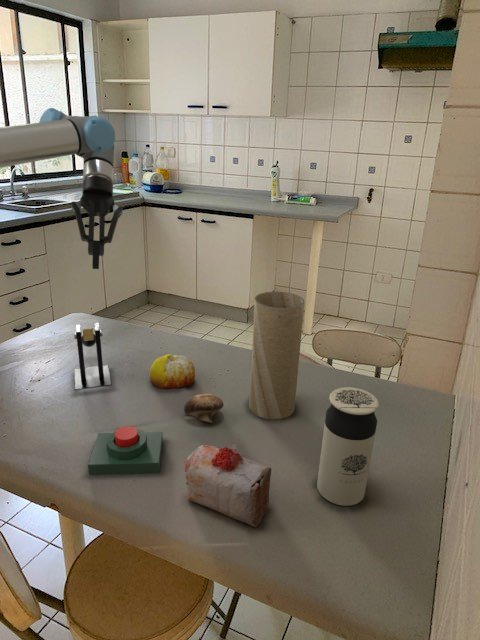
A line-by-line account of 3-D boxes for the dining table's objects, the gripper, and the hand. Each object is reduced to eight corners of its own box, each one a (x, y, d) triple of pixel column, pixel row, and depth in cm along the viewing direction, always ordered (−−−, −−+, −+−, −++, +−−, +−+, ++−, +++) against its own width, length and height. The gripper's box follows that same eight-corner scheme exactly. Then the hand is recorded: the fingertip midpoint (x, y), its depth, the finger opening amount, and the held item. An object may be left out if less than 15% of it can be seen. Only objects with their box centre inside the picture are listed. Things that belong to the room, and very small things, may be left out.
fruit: (179, 398, 103) (170, 365, 101) (145, 396, 109) (135, 365, 107) (207, 376, 112) (198, 345, 110) (174, 376, 118) (165, 347, 116)
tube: (274, 389, 109) (282, 288, 99) (303, 410, 101) (315, 302, 92) (240, 402, 103) (244, 296, 94) (268, 424, 96) (276, 312, 86)
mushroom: (217, 421, 90) (211, 390, 92) (181, 429, 93) (175, 398, 94) (231, 419, 98) (225, 390, 99) (197, 426, 100) (192, 398, 101)
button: (113, 448, 81) (112, 439, 81) (117, 434, 85) (116, 426, 84) (136, 447, 82) (136, 439, 81) (139, 433, 85) (138, 425, 85)
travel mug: (315, 471, 83) (326, 384, 76) (360, 476, 82) (375, 388, 75) (318, 504, 76) (330, 411, 69) (367, 509, 75) (384, 415, 68)
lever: (82, 348, 115) (80, 333, 116) (97, 346, 116) (95, 332, 117) (80, 342, 103) (79, 326, 103) (97, 341, 104) (95, 325, 104)
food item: (177, 502, 75) (176, 452, 71) (203, 472, 82) (203, 426, 78) (253, 535, 69) (257, 483, 66) (274, 500, 76) (278, 451, 72)
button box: (89, 474, 80) (86, 456, 79) (99, 442, 88) (97, 424, 87) (159, 472, 81) (158, 454, 80) (162, 441, 89) (162, 423, 88)
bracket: (74, 373, 113) (68, 320, 107) (108, 369, 115) (104, 317, 110) (75, 394, 104) (68, 338, 99) (112, 389, 106) (107, 334, 101)
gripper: (123, 192, 126) (122, 273, 119) (72, 187, 122) (68, 271, 116) (124, 177, 119) (123, 262, 112) (70, 171, 115) (66, 259, 109)
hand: (95, 266), depth 114 cm, fingers closed
